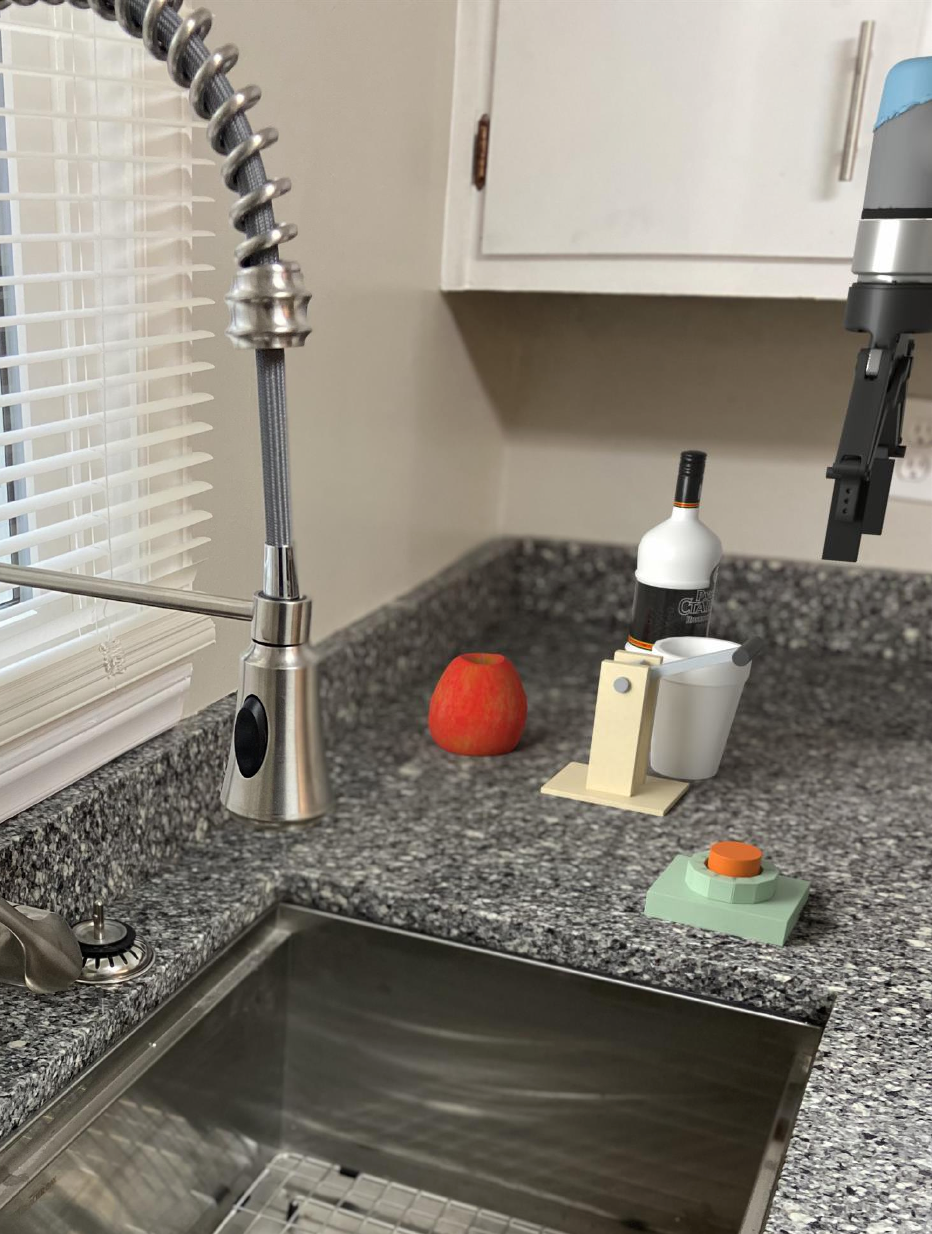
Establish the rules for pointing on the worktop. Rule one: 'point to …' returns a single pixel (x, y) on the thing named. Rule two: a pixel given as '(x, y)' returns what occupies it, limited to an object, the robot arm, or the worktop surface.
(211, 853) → the worktop surface
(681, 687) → the foam cup
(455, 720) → the apple
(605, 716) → the bracket
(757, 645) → the lever
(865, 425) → the robot arm
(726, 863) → the button
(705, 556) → the vodka
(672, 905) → the control block
